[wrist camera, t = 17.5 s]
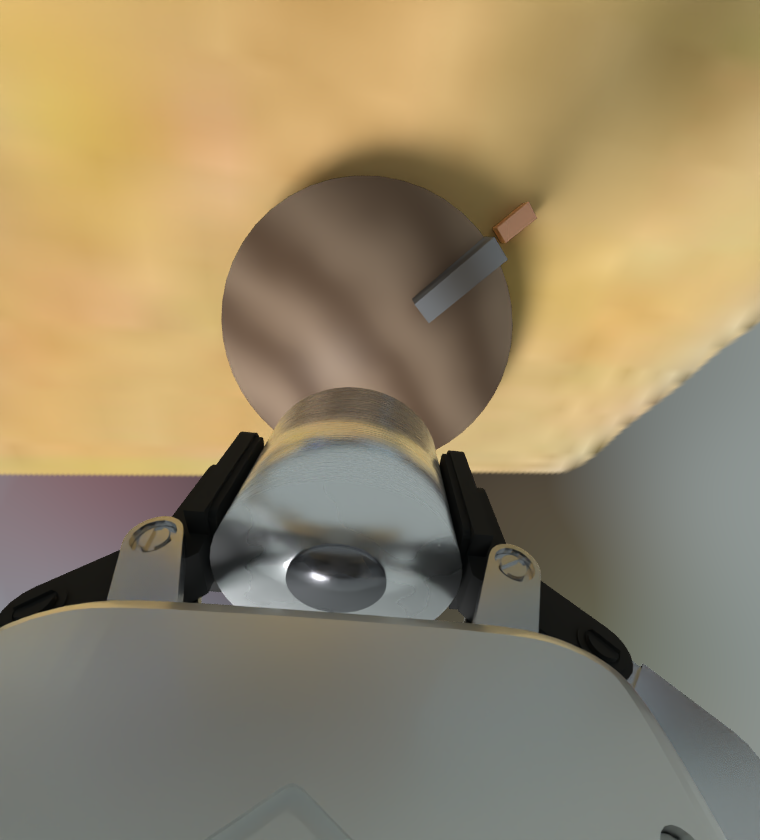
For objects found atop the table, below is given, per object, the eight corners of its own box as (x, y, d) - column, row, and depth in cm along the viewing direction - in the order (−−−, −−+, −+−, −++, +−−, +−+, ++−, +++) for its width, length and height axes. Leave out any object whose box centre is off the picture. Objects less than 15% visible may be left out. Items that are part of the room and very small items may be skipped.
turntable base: (310, 388, 30) (307, 393, 29) (309, 177, 23) (305, 174, 22) (479, 404, 31) (482, 410, 30) (534, 204, 23) (541, 203, 22)
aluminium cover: (274, 516, 14) (224, 642, 10) (264, 378, 11) (184, 472, 7) (421, 528, 15) (437, 657, 10) (451, 396, 12) (493, 499, 7)
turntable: (358, 487, 35) (355, 518, 31) (178, 327, 27) (144, 342, 23) (551, 358, 28) (578, 377, 24) (384, 88, 20) (384, 53, 16)
